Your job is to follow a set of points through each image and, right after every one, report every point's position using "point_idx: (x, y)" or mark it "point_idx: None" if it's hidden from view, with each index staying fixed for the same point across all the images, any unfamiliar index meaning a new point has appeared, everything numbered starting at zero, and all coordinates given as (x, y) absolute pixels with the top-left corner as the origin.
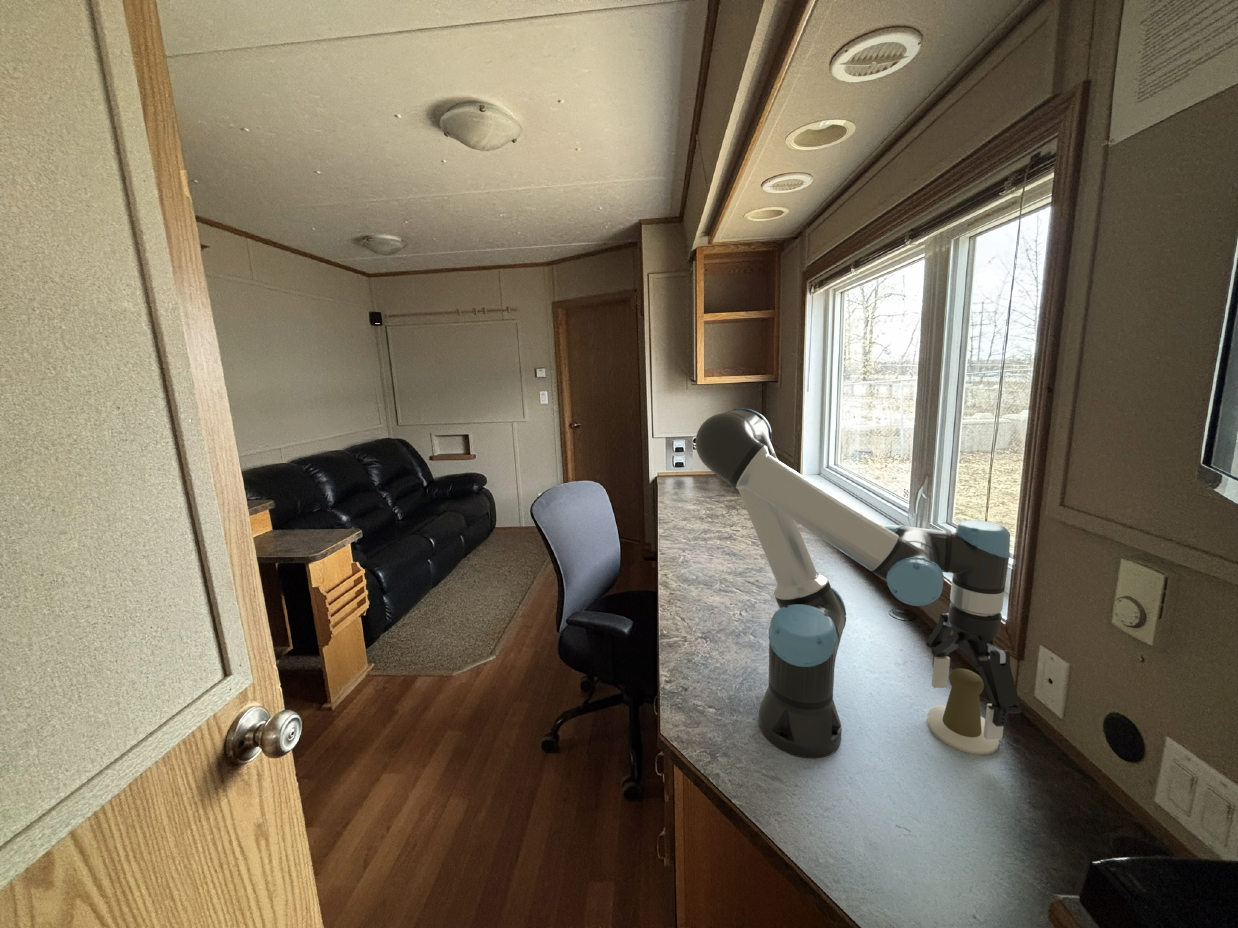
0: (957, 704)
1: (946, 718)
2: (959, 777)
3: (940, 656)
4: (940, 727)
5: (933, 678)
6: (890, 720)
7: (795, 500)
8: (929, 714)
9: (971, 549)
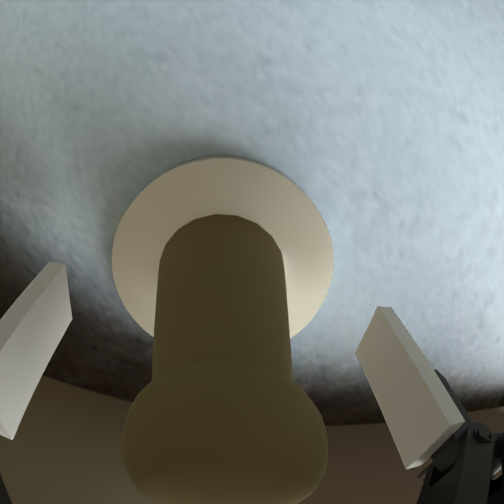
0: (195, 299)
1: (239, 231)
2: (56, 98)
3: (443, 444)
4: (230, 186)
5: (402, 333)
6: (344, 59)
7: None
8: (306, 204)
9: None
